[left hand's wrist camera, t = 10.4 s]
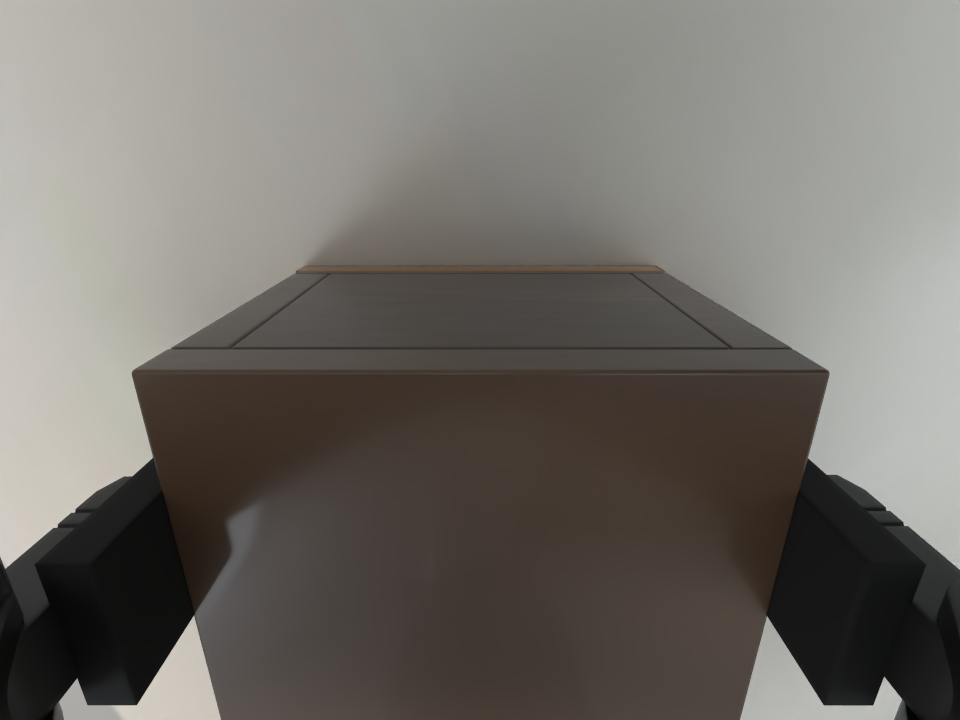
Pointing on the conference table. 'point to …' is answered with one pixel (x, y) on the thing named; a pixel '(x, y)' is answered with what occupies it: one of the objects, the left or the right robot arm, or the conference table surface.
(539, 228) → the conference table surface
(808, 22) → the conference table surface
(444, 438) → the cabinet
